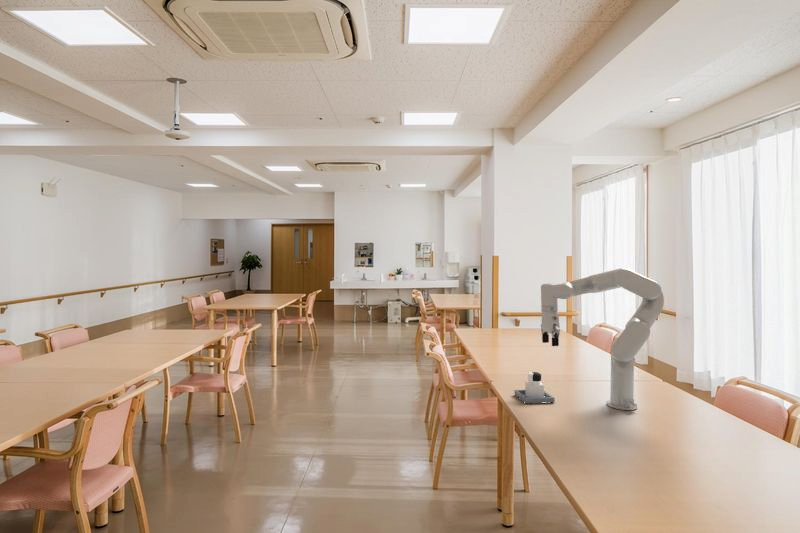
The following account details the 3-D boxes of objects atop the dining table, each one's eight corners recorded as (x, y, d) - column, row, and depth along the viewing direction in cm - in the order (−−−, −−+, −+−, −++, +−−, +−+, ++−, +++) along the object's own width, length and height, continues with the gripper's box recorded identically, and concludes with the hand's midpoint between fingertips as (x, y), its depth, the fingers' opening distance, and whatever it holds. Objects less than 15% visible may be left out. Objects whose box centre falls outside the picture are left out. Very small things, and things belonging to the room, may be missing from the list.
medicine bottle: (539, 395, 220) (540, 371, 220) (544, 400, 213) (544, 374, 213) (525, 395, 220) (525, 370, 220) (528, 399, 213) (528, 374, 213)
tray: (554, 403, 210) (554, 397, 210) (525, 404, 209) (525, 398, 209) (541, 394, 224) (541, 389, 224) (514, 395, 223) (514, 390, 223)
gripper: (565, 310, 212) (566, 346, 212) (548, 307, 229) (549, 341, 229) (550, 311, 210) (551, 347, 211) (534, 307, 228) (535, 341, 228)
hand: (550, 344), depth 220 cm, fingers open, 9 cm apart
